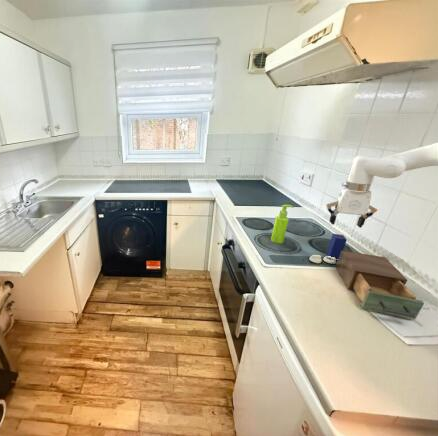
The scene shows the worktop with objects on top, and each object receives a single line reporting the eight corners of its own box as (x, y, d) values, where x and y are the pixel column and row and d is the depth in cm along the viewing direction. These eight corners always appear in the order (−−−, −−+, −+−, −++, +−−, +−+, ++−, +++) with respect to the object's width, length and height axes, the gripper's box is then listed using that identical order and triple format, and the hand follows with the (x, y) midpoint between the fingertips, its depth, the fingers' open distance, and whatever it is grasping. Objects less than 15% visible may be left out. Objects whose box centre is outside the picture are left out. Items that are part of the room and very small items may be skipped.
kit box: (335, 255, 112) (343, 234, 107) (339, 261, 108) (346, 239, 103) (325, 254, 113) (332, 233, 109) (328, 259, 109) (335, 238, 105)
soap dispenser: (287, 243, 123) (296, 207, 115) (274, 243, 123) (282, 207, 115) (281, 238, 128) (289, 203, 121) (268, 238, 128) (276, 203, 121)
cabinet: (397, 299, 85) (407, 279, 81) (347, 289, 90) (355, 270, 86) (377, 275, 98) (385, 257, 95) (335, 267, 103) (341, 250, 100)
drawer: (423, 330, 71) (433, 312, 69) (367, 317, 76) (375, 300, 73) (391, 291, 87) (399, 276, 85) (347, 282, 92) (353, 268, 89)
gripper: (334, 187, 97) (323, 225, 103) (389, 190, 91) (374, 231, 97) (329, 183, 103) (319, 219, 110) (380, 186, 97) (366, 224, 104)
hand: (345, 224), depth 103 cm, fingers open, 9 cm apart
